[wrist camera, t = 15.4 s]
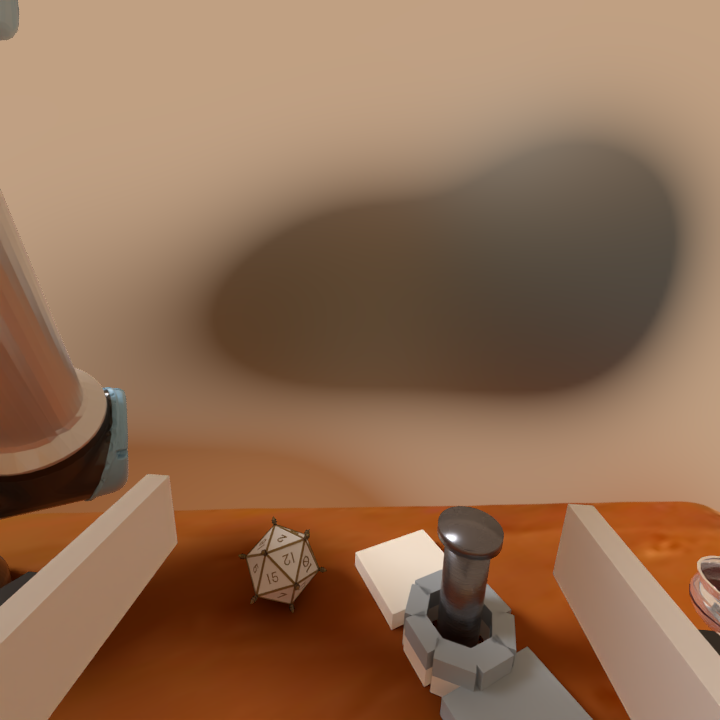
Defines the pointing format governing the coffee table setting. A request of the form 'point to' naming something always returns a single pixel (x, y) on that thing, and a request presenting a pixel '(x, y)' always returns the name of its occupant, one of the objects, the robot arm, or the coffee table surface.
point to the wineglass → (707, 591)
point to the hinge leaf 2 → (485, 665)
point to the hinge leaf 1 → (405, 589)
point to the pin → (465, 571)
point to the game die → (281, 565)
